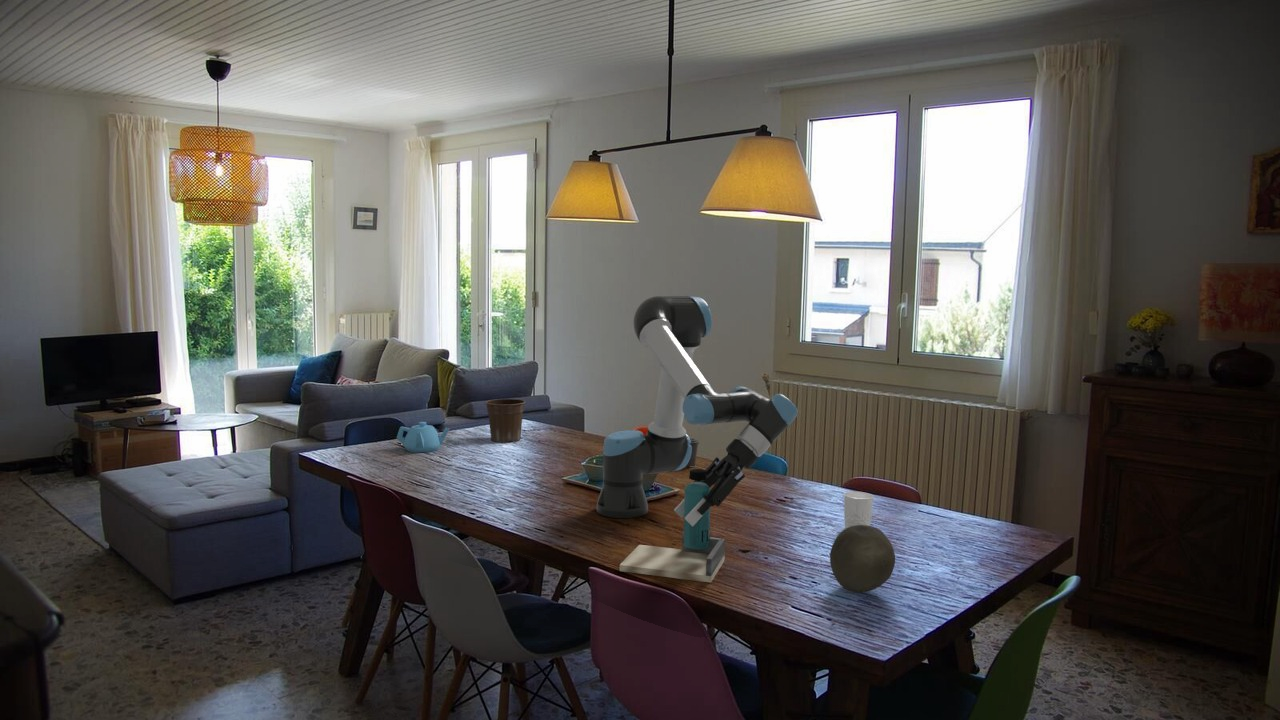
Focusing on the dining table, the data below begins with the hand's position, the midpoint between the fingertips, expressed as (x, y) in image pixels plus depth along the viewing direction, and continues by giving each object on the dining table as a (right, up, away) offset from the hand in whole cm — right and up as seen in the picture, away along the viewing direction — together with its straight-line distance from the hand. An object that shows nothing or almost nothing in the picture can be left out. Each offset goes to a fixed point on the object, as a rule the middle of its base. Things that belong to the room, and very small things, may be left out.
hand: (683, 518), depth 203 cm
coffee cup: (+7, -1, +108) cm, 109 cm away
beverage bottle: (+3, -9, +2) cm, 9 cm away
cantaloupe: (+39, -14, -13) cm, 44 cm away
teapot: (-95, +3, +127) cm, 159 cm away
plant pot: (-66, +4, +149) cm, 163 cm away
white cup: (+50, -10, +34) cm, 62 cm away
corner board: (-2, -12, +2) cm, 12 cm away
